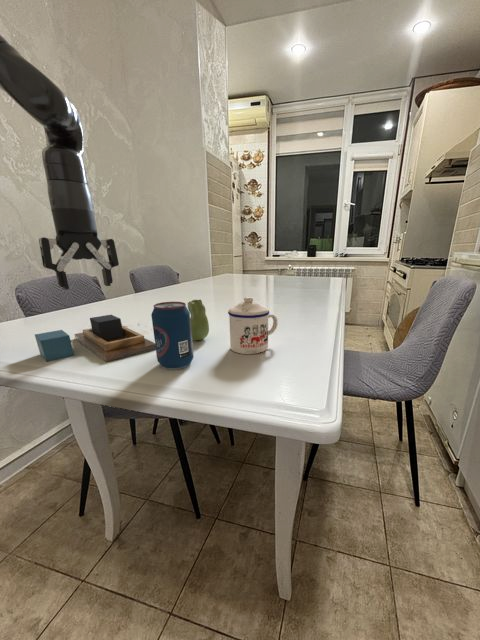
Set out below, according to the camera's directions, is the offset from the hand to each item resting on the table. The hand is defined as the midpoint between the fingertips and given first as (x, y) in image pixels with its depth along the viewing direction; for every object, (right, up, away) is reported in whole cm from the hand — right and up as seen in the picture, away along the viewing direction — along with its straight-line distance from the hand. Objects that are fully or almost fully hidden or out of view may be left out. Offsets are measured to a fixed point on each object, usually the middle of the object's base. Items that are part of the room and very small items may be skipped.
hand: (87, 287), depth 66 cm
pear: (+24, -12, +7) cm, 27 cm away
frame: (+4, -13, +4) cm, 14 cm away
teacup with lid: (+38, -14, +2) cm, 40 cm away
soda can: (+22, -17, -7) cm, 29 cm away
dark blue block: (+2, -11, +6) cm, 12 cm away
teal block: (-5, -15, -3) cm, 16 cm away
